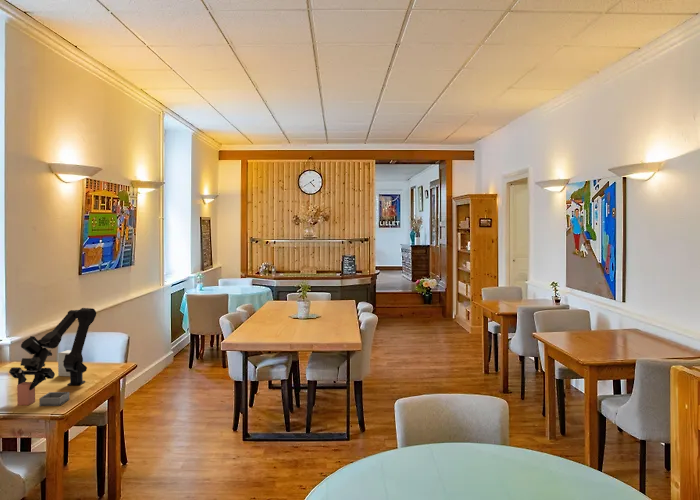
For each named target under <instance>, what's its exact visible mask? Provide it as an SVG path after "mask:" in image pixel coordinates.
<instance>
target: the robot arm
mask: <svg viewBox="0 0 700 500" xmlns="http://www.w3.org/2000/svg"><path fill="white" fill-rule="evenodd" d="M96 317H97V311H96V310H95V308H90V307H82V308H80V309H71V310H69V311H67V314H66V315H65V316H64V317H63V318H62V320H61V321H60V322H59V323H58V324H57V325H56V327H54V329H53V330H51V331H49V332H47V333H46V334H45V335H43V336H42V337H41V338H40V339H37V337H35V336H34V335H32V336H31V335H30V336H29V337H28V338H26V339H24V340H23V341H22V342H21V344H20V347H21V349H22V350H24V351H25V352H27V354H29V355H32V357H31V358H30V357H29V358H26V357H25V358H24V357H23V358H21V362H20V366H21V367H22V366H23V368H24V369H22V368H21V367H16V366H14V367H13V366H12V367H11V368H10V369H9V371H8V373H9V375H11V377H12V378H14V379H17V385H19V384H21V383H23V382H27V380H28V379H27V378H26V376H33V380H32V381H31V382H32V384H31V386H30V388H29V390H32V389H33V388H34V387H35V388H36V387H37V386H38V385H40V384H41V383H42V382H43V381H46V380H47V379H48V380H53V379H54V378H55V375H56V373H55V372H54V371H53V369H52V368H51V367H45V366H46V363H45V362H46V361H47V358H48V357H50V356H53V353H52V352H51V351H52V349H56V348H58V346H59V344H61V341H62V337H63V335H64V334H65V333H66V332H67V331H68V329H70V327H71V325H73V323H74V322H75V321H76V320H77V322H78V326H77V330H76V333H75V336H74V340H73V342H72V343H73V344H72V347H71V349H70V350H71V352H70V353H69V354H66V355H65V358H64V361H63V362H64V364H63V366H64V368H65V369H66V372H70V376H69V383H67V386H81V385H82V384H84V383H86V380H83V379H84V378H83V376H84V375H83V374H84V373H85V372H87V369H88V367H87V366H86V365H85V364H84V358H83V350H84V345H85V341H86V338H87V336H88V335H87V334H88V331H89V328H90V326H91V325H92V324H93V322H94V321H95V318H96Z"/></svg>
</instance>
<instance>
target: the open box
mask: <svg viewBox="0 0 700 500" xmlns="http://www.w3.org/2000/svg"><path fill="white" fill-rule="evenodd" d="M38 400H39V402H38V403H39V404H38V405H39V407H59V406H62V405H63V404H65V403H66V402H68V401H69V400H70V391H62V392H61V391H49V392H48V393H45V394H44V395H43V396H41V397H39V399H38Z"/></svg>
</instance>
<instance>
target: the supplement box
mask: <svg viewBox="0 0 700 500" xmlns="http://www.w3.org/2000/svg"><path fill="white" fill-rule="evenodd" d="M71 350H72V349H67V350H64V351H60V352H57V360H58V361H57V364H58V366H57V369H58V370H57V371H58V373H57V374H58V375H57V376H61V377H70V372H66V369H65V368H64V366H63V364H64V362H63V361H64V358H65V355H66V354H69V353H70V352H71Z"/></svg>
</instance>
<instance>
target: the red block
mask: <svg viewBox="0 0 700 500" xmlns="http://www.w3.org/2000/svg"><path fill="white" fill-rule="evenodd" d="M31 384H32V381H25V382H23V383H21V384H19V385H18V384H17V385H16V391H17V392H16V395H17V398H16V399H17V405H18V406H29V405H31V404H34V403H35V402H36V387H34V388H33V389H32V390H29V388H30V386H31Z"/></svg>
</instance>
